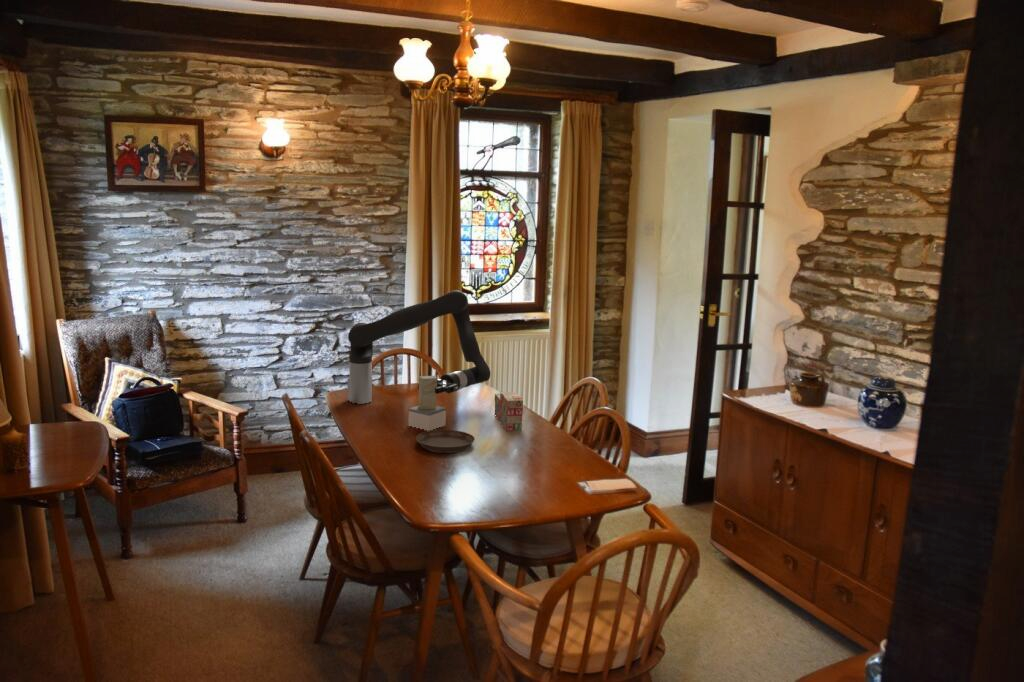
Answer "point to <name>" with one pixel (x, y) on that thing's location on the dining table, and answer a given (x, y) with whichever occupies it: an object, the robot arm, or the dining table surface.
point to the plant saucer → (445, 441)
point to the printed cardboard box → (509, 410)
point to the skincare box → (427, 392)
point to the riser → (427, 418)
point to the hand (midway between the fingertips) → (427, 389)
